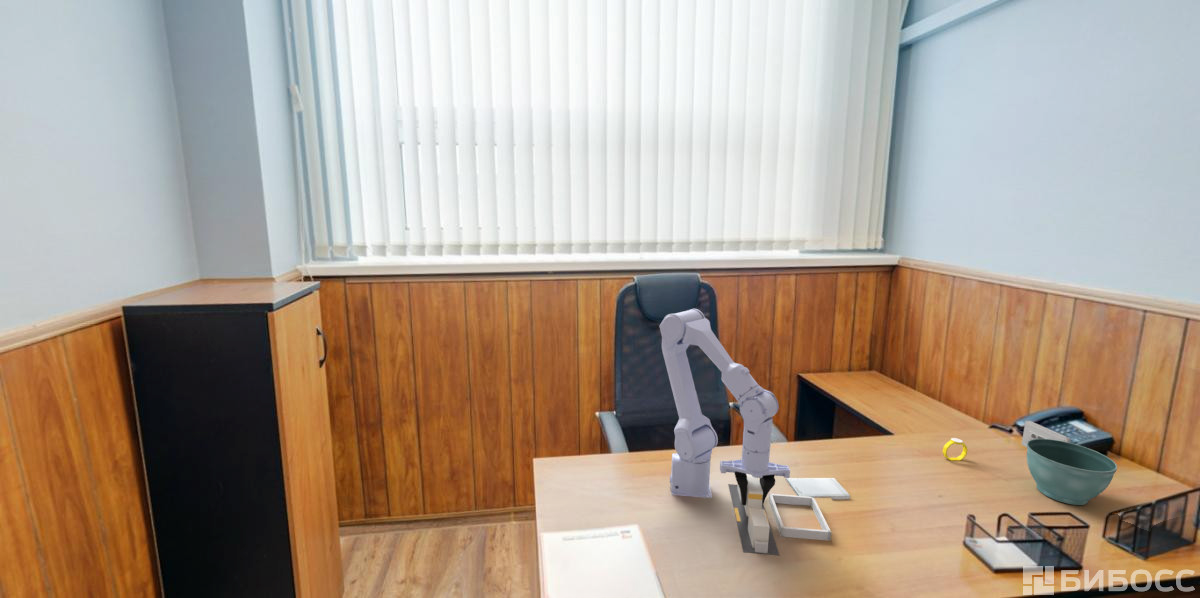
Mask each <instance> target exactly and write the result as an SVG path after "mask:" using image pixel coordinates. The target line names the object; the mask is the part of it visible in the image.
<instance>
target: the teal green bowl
mask: <svg viewBox="0 0 1200 598" xmlns="http://www.w3.org/2000/svg"><path fill="white" fill-rule="evenodd" d="M1026 450H1027V451H1026V464H1027V466H1028V467H1027V468H1028V470H1029V473H1030V475H1031V478H1032V479H1033V480H1034V482H1035V484H1036V485H1035V486H1036V489H1037V490H1038V491H1039V492H1040V493H1042V494H1043V495H1044V496H1046V497H1047V498H1050V499H1053V500H1054V501H1058V502H1061V503H1065V504H1069V505H1075V506H1084V505H1087V504H1088V503H1089V501H1090V500H1091V499H1093V498H1096V497H1097V496H1100V495H1101V494H1102V493H1103V492H1104V491H1105V490H1106V489H1107V488H1108V487H1109V485H1110V484H1111V483H1112V480H1113V478H1114V474H1116V472H1117V469H1118V464H1117V463H1116V462H1115V461H1114V460H1113V459H1111V458H1109V456H1106V455H1105V454H1104V453H1103V454H1102V453H1100V452H1098V451H1096V450H1094V449H1091V448H1088V447H1086V446H1083V445H1080V444H1075V443H1071V442H1070V443H1068V442H1064V441H1059V440H1052V439H1044V438H1042V439H1032V440H1029V441H1028V442H1027V448H1026Z"/></svg>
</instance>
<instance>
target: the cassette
mask: <svg viewBox="0 0 1200 598" xmlns="http://www.w3.org/2000/svg"><path fill="white" fill-rule="evenodd" d="M1032 439H1052V440H1059V441H1064V442H1068V443H1071V438H1070V437H1068V436H1065V435H1063V434H1061V433H1059V432H1056V431H1054V430H1052V429H1051V428H1048V427H1045V426H1044V425H1041V424H1038V423H1035V422H1034V421H1032V420H1025V423H1024V428H1023V434H1022V438H1021V446H1023V447H1026V449H1027V442H1028V441H1029V440H1032Z"/></svg>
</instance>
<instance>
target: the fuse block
mask: <svg viewBox="0 0 1200 598" xmlns="http://www.w3.org/2000/svg"><path fill="white" fill-rule="evenodd" d="M727 485H728V490H729V493H730V498H731V503H732V507H733V512H734V517H735V520H736V525H737V529H738V534H739V537H740V538H739V539H740V543H741V547H742V552H743V553H748V554H757V555H759V554H760V555H768V556H769V555H770V556H781V555H780V552H779V548H778V546H777V542H776V540H775V537H774V533H773V531H772V528H771V525H770V521H769V519H768V515H767V512H766V509H765V506H764V504H763V507H762V509H764V511H765V514H766V517H767V520H768V524H769V527H770V528H769V540H768V542H758V541H755V548H752V544H751V540H750V536H749V532H748V519H749V516H747V515H746V511H745V508H744V505H742V502H741V501H740V497H739V493H738V489H737V486H738V484H733V483H731V484H730V483H728V484H727Z"/></svg>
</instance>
